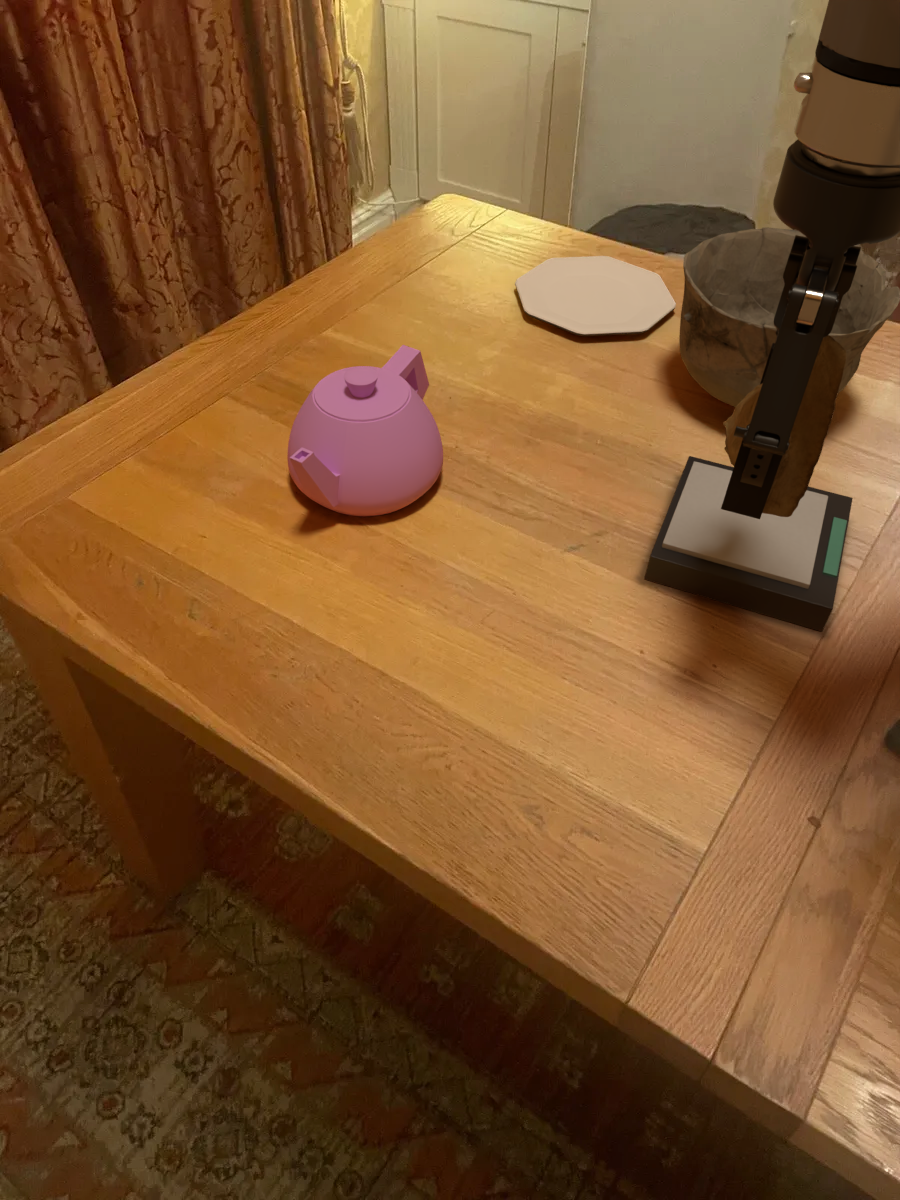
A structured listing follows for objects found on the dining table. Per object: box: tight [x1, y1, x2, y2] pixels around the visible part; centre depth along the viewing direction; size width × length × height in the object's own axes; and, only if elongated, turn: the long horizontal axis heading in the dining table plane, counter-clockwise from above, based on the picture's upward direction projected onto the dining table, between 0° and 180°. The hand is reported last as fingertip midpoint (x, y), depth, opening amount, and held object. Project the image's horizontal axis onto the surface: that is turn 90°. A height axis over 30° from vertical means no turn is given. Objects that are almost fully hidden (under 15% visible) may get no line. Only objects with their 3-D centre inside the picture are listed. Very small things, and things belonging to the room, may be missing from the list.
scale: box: [644, 455, 853, 632], centre depth 85 cm, size 16×16×4 cm
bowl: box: [678, 226, 900, 408], centre depth 99 cm, size 22×22×15 cm
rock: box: [722, 335, 846, 517], centre depth 64 cm, size 11×9×10 cm
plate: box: [514, 255, 677, 337], centre depth 118 cm, size 20×20×2 cm
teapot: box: [286, 344, 444, 517], centre depth 89 cm, size 22×16×12 cm
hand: (754, 465), depth 67 cm, fingers closed on rock, 10 cm apart
